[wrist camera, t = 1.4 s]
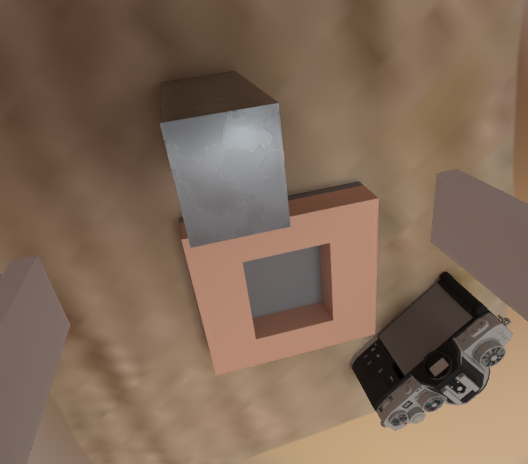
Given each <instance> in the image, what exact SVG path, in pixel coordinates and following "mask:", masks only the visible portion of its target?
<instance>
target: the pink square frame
mask: <svg viewBox="0 0 528 464" xmlns="http://www.w3.org/2000/svg"><path fill="white" fill-rule="evenodd" d="M288 205H289V215H290V225H291V227H287V228H282V229H277V230H272V231H268V232H263V233H258V234H254V235H249V236H244V237H240V238H235V239H230V240H226V241H221V242H216V243H212V244H207V245H202V246H198V247H193V248H190V244H189V240H188V236H187V232H186V228H185V224H184V220H183V218H180V229H181V240H182V244H183V248H184V252H185V256H186V260H187V264H188V268H189V271H190V275H191V279H192V283H193V287H194V291H195V295H196V299H197V303H198V307H199V310H200V314H201V318H202V322H203V326H204V330H205V334H206V338H207V342H208V346H209V349H210V353H211V357H212V361H213V365H214V369H215V373H216V375H220V374H224V373H228V372H232V371H235V370H239V369H243V368H247V367H251V366H255V365H259V364H263V363H266V362H270V361H274V360H278V359H282V358H286V357H290V356H294V355H297V354H301V353H305V352H309V351H313V350H317V349H321V348H325V347H328V346H332V345H336V344H340V343H344V342H348V341H352V340H356V339H359V338H363V337H367V336H371V335H375V321H376V283H377V245H378V206H379V198H378V197H377V196H376V195H374V194H373V193H372V192H371V191H370V190H368V189H367V188H366V187H365V186H364V185H362V184H361V183H360V182H356V183H351V184H346V185H341V186H336V187H331V188H327V189H322V190H317V191H312V192H307V193H302V194H297V195H292V196H288Z"/></svg>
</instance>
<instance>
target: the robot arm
mask: <svg viewBox="0 0 528 464" xmlns="http://www.w3.org/2000/svg"><path fill="white" fill-rule="evenodd" d="M430 242H431V243H432V244H434V245H435V246H436V247H437V248H439V249H440V250H441V251H442V252H443V253H445V254H446V255H447V256H448V257H450V258H451V259H452V260H453V261H454V262H456V263H457V264H458V265H459V266H461V267H462V268H463V269H464V270H465V271H467V272H468V273H469V274H470V275H472V276H473V277H474V278H475V279H476V280H478V281H479V282H480V283H481V284H483V285H484V286H485V287H486V288H487V289H489V290H490V291H491V292H492V293H494V294H495V295H496V296H497V297H499V298H500V299H501V300H502V301H503V302H505V303H506V304H507V305H508V306H510V307H511V308H512V309H513V310H514V311H516V312H517V313H518V314H519V315H521V316H522V317H523V318H524V319H525V320H527V321H528V204H527V203H525V202H523V201H521V200H519V199H517V198H515V197H513V196H511V195H509V194H507V193H505V192H503V191H501V190H499V189H497V188H495V187H493V186H491V185H489V184H487V183H484V182H482V181H480V180H478V179H476V178H474V177H472V176H470V175H468V174H466V173H464V172H462V171H460V170H458V169H454V170H450V171H445V172H440V173H437V177H436V188H435V198H434V209H433V220H432V230H431V241H430ZM69 327H70V324H69V321H68V319H67V317H66V315H65V313H64V311H63V309H62V307H61V304H60V302H59V300H58V298H57V296H56V294H55V292H54V289H53V287H52V285H51V283H50V281H49V279H48V277H47V274H46V272H45V270H44V268H43V266H42V264H41V262H40V259H39V257H38V256H33V257H28V258H23V259H19V260H14V261H10V263H9V265H8V266H7V268H6V269H5V271H4V272H3V274H2V275H1V277H0V464H27V462H28V458H29V455H30V452H31V449H32V446H33V442H34V439H35V436H36V433H37V429H38V426H39V423H40V420H41V417H42V414H43V411H44V407H45V404H46V401H47V398H48V395H49V391H50V388H51V385H52V382H53V379H54V375H55V372H56V369H57V366H58V363H59V359H60V356H61V353H62V350H63V347H64V343H65V340H66V337H67V334H68V331H69Z"/></svg>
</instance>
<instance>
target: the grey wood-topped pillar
mask: <svg viewBox="0 0 528 464" xmlns="http://www.w3.org/2000/svg"><path fill="white" fill-rule="evenodd" d="M160 126H161V131H162V135H163V139H164V143H165V147H166V151H167V155H168V159H169V163H170V167H171V171H172V175H173V179H174V183H175V187H176V191H177V196H178V200H179V204H180V208H181V212H182V216H183V220H184V224H185V228H186V232H187V236H188V240H189V244H190V248H193V247H198V246H202V245H207V244H212V243H216V242H221V241H226V240H230V239H235V238H240V237H244V236H249V235H254V234H258V233H263V232H268V231H272V230H277V229H282V228H287V227H291V225H290V215H289V205H288V195H287V184H286V174H285V164H284V153H283V143H282V133H281V123H280V112H279V103H278V102H277V101H275V100H274V99H272V98H271V97H270V96H268V95H267V94H266V93H264V92H263V91H262V90H260V89H259V88H258V87H256V86H255V85H253V84H252V83H251V82H249V81H248V80H247V79H245V78H244V77H243V76H241V75H240V74H238V73H237V72H236V71H232V72H225V73H219V74H213V75H206V76H200V77H194V78H187V79H181V80H174V81H168V82H162V83H161V104H160Z"/></svg>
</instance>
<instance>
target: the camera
mask: <svg viewBox="0 0 528 464" xmlns="http://www.w3.org/2000/svg"><path fill="white" fill-rule="evenodd" d="M498 317H499V318H500V319H501V320H502V321H500V320H499V319H498V318H497V317H496V316H495V315H494V314H493V313H491V312H490V311H489V310H488V309H487V307H486V306H484V305H483V304H482V303H481V302H479V301H478V300H477V299H476V298H475V297H474V296H473V295H472V294H471V293H469V292H468V291H467V290H466V289H465V288H464V287H463V286H462V285H461V284H459V283H458V282H457V281H456V280H455V279H454V278H453V277H452V276H451V275H450V274H449V273H448V272H446V273H444V274H443V275H442V276H441V277H440V278H439V279H438V280H437V281H436V282H435V283H433V284H432V285H431V286H430V287H429V288H428V289H427V290H426V291H425V292H423V293H422V294H421V295H420V296H419V297H418V298H417V299H416V300H414V301H413V302H412V303H411V304H410V305H409V306H408V307H407V308H406V309H404V310H403V311H402V312H401V313H400V314H399V315H398V316H397V317H395V318H394V319H393V320H392V321H391V322H390V323H389V324H388V325H387V326H385V327H384V328H383V329H382V330H381V331H380V332H379V333H378V334H377V335H375V336H374V337H373V338H372V339H371V340H370V341H369V342H368V343H366V344H365V345H364V346H363V347H362V348H361V349H360V350H359V351H358V352H357V353H356V354H355V355H354V356H353V358H352V359H351V361H350V364H351V367H352V369H353V371H354V373H355V374H356V376H357V378H358V380H359V382H360V384H361V386H362V387H363V389H364V391H365V393H366V395H367V397H368V399H369V401H370V402H371V404H372V406H373V408H374V409H375V411H376V412H377V413H378V415H379V417H380V419H381V425H382V426H383V427H387V426H388V427H390V428H391V429H393V430H395V431H396V430H398V429H401V428H402V427H404V426H406V425H408V424H409V423H418V422H420V421H422V420H423V419H424V418H425V413H424V411H425V412H433V411H435V410H437V409H439V408H440V407H441V406H442V405H443V403H444V402H445V403H446V404H453V405H461V404H466V403H468V402H469V401H470V400H472V399H473V398H474V397H475V396H477V395H478V394H479V393H480V392H481V391H482V390H483V389H484V388H485V386H486V384H487V382H488V380H489V374H490V367H492V366H494V365H496V364H498V363H499V362H500V361H501V360H502V359H503V358H504V356H505V354H506V349H505V348H504V347H503V346H505V344H507V342H508V341H509V340H510V339H511V337H512V332H511V331H510V330H509V329H508V328H507V326H509V325H510V324H511V321H510V320H509V319H508V318H504V319H503V318H502V317H501V316H500V315H498ZM506 321H508V323H506V324H505V322H506Z"/></svg>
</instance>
